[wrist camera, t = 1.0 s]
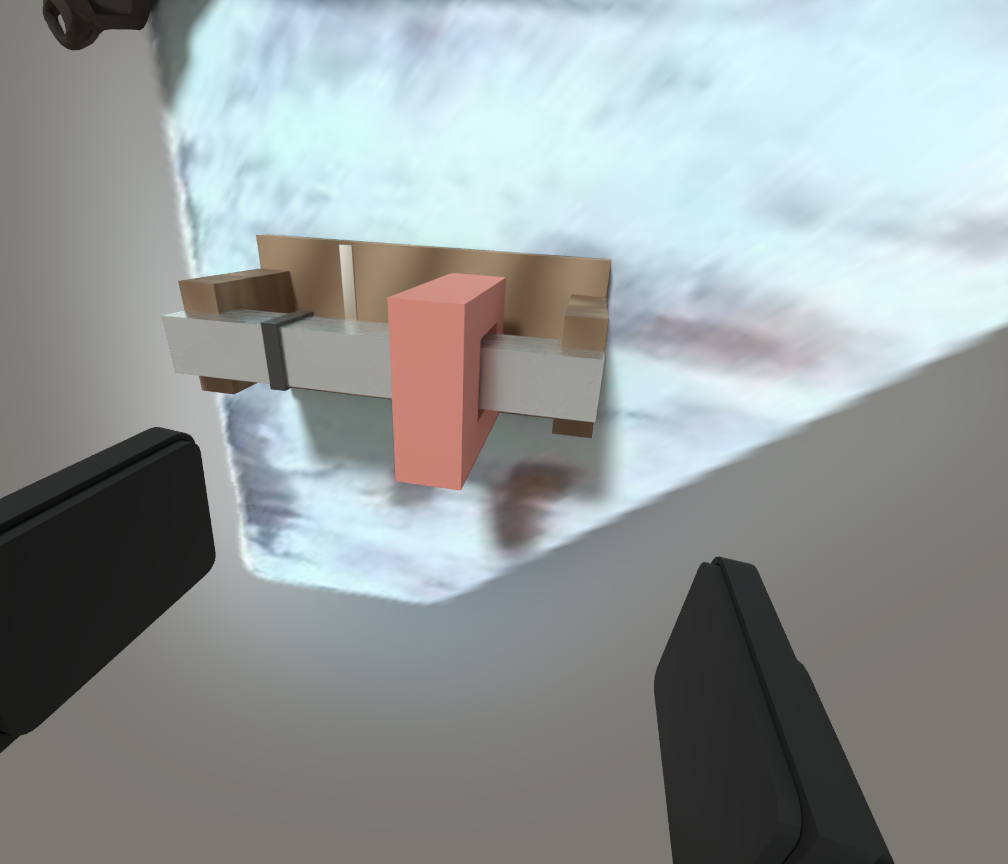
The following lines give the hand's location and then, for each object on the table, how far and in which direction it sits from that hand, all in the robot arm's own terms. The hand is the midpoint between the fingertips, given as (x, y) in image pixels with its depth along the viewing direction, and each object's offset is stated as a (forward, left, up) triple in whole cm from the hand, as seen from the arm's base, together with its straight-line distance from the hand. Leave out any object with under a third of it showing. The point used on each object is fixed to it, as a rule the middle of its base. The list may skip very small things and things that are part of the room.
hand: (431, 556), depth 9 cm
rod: (+8, +1, -17) cm, 19 cm away
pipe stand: (+8, +1, -24) cm, 25 cm away
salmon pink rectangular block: (+4, +1, -20) cm, 20 cm away
